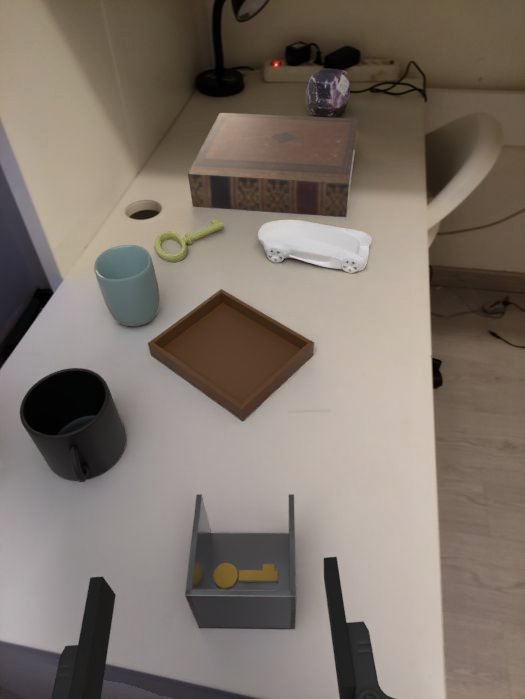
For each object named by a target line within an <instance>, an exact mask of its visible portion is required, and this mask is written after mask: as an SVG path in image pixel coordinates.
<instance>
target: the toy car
mask: <svg viewBox="0 0 525 699" xmlns="http://www.w3.org/2000/svg"><path fill="white" fill-rule="evenodd" d="M257 238H258V240H259V243H261V244H262V245H263V250H264V252H265V254H266V257H267V259H268V260H269V261H270V262H272V263H277V264H278V263H281V262H283V261H284V259H296V260H299V261H301V262H305V263H309V264H312V265H316V266H319V267H323V268H328V269H335V270H336V269H337V270H343V271H344V272H346V273H348V274H353V273H357V272H360V271H362V270H364V269H365V268H366V266H367V264H368V258H369V254H370V248H369V246H370V245H371V243H372V241H373V237H372V235H370V234H369V233H368V232H365V231H363V230H360V229H352V228H346V227H339V226H333V225H327V224H323V223H319V222H318V223H317V222H312V221H307V220H301V219H279V220H278V219H277V220H272V221H271V220H270V221H267V222H265V223H264V224H262V225H261V226H260V228H259V230H258V232H257Z"/></svg>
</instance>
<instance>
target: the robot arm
mask: <svg viewBox="0 0 525 699" xmlns="http://www.w3.org/2000/svg"><path fill="white" fill-rule="evenodd" d="M323 581H324V589H325V590H324V591H325V597H326V604H327V612H328V620H329V627H330V635H331V641H332V642H331V644H332V652H333V659H334V666H335V673H336V681H337V690H338V697H339V699H396V698H395V697H392V696H390V695H388V694H386V693H385V692H384V691H383V689H382V688H381V686H380V684H379V680H378V674H377V668H376V663H375V662H376V661H375V657H374V653H373V646H372V640H371V635H370V634H371V633H370V630H369V629H368V627H367V625H366V623H365V621H363V620H361V621H354V622H353V621H351V622H349V621H348V622H347V616H346V609H345V603H344V596H343V589H342V584H341V583H342V582H341V576H340V571H339V563H338V557H337V556H328V557H323ZM116 596H117V594H116V593H115V592H114V590H113V589H112V587H111V585H110V584H109V583H108V581H107V580H106V578H105V577H104V576H92V577H89V582H88V588H87V593H86V599H85V604H84V610H83V615H82V621H81V625H80V631H79V637H78V643H77V644H73V645H72V644H71V645H65V646H64V648H63V650H62V651H61V652H60V655H59V657H58V658H59V659H58V663H57V670H56V674H55V679H54V683H53V689H52V693H51V698H50V699H102V693H103V686H104V678H105V673H106V667H107V666H106V665H107V657H108V652H109V646H110V645H109V644H110V638H111V630H112V624H113V617H114V610H115V604H116V603H115V602H116Z"/></svg>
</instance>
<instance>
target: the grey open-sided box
mask: <svg viewBox="0 0 525 699" xmlns="http://www.w3.org/2000/svg"><path fill="white" fill-rule="evenodd" d="M203 497H204V496H203V494H202V493H196V495H195V504H194V513H193V522H192V532H191V539H190V547H189V548H190V549H189V558H188V566H187V576H186V585H185V592H184V593H185V594H184V596H185V599H186V601H187V603H188V606H189V608H190V611H191V613H192V615H193V618H194V620H195V622H196V625H197V627H198V629H219V630H221V629H222V630H223V629H225V630H226V629H227V630H228V629H229V630H231V629H232V630H238V629H239V630H296V615H297V612H296V610H297V572H296V571H297V570H296V566H297V565H296V526H295V524H296V523H295V521H296V520H295V518H296V516H295V494H293V493H289V494H288V532H212V530H211V525H210V521H209V517H208V512H207V510H206V506H205V502H204V498H203ZM223 563H230V564H232V565H233V566H235V568H236V569H237V572H238V580H237V582H236V584H235V585H234V586H233V587H232V588H230V589H220V588H219V587H217V586H216V584H215V582H214V579H213V574H214V571H215V569H216V568H217V567H218V566H219V565H220V564H223ZM263 564H275V571H278V582H239V570H263Z"/></svg>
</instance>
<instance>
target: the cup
mask: <svg viewBox="0 0 525 699" xmlns="http://www.w3.org/2000/svg"><path fill="white" fill-rule="evenodd" d="M93 270H94V275H95V279H96V281H97V285H98V288H99V290H100V293H101V296H102V298H103V301H104V303H105V305H106V308H107V310H108V311H109V314H110V315H111V316H112V318H113V319H114V320H115V321H116V322H117V323H119V324H121V325H122V326H126V327H140V326H143V325H146V324H148V323H150V322H151V321H152V320H153V319H154V318H155V317H156V316H157V314H158V311H159V308H160V290H159V284H158V279H157V274H156V270H155V266H154V262H153V258H152V255H151V254H150V252H149V250H147V249H146V248H145V247H143V246H140V245H136V244H122V245H117V246H114V247H111V248H110V247H109V248H108V249H106V250H104V251H102V252H101V253H100V254H99V255H98V256H97V257H96V259H95V261H94V264H93Z"/></svg>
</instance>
